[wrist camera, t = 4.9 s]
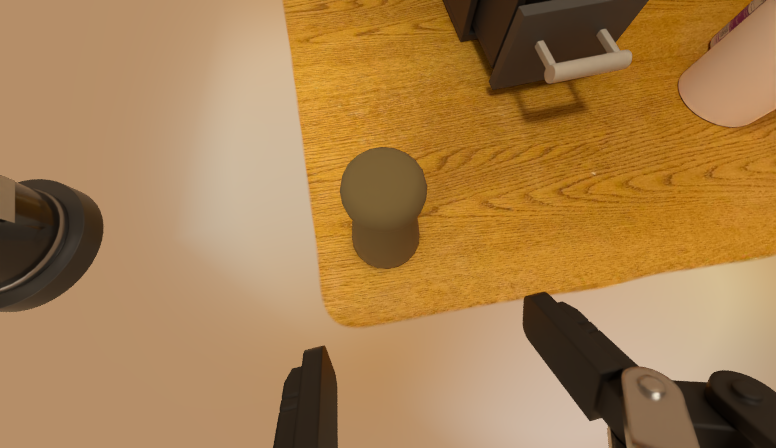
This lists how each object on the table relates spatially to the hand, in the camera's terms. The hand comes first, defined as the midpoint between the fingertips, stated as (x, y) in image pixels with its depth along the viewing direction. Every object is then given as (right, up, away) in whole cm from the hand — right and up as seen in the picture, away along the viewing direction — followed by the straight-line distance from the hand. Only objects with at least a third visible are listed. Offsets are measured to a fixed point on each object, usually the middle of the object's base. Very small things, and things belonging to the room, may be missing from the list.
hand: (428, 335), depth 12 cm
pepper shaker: (-2, +3, +15) cm, 16 cm away
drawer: (+14, +24, +21) cm, 35 cm away
